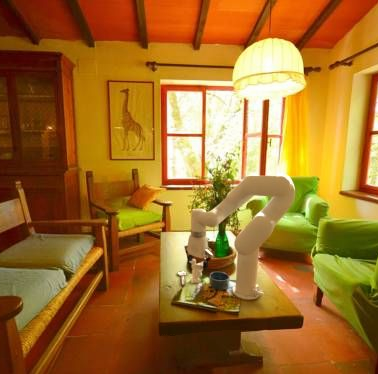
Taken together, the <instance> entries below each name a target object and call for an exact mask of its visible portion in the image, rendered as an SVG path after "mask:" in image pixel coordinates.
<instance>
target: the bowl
mask: <svg viewBox="0 0 378 374" xmlns="http://www.w3.org/2000/svg"><path fill="white" fill-rule="evenodd" d="M208 277H209V278H208V284H209V286H210V285H211V286H210V287H211V288H212V289H214V290H216V291H225V290H227V289H228V288H229V287H230V277H231V276H230V275H229V274H228V273H226V272H224V271H212V272H210V273H209V275H208Z"/></svg>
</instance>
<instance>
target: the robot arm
mask: <svg viewBox="0 0 378 374" xmlns="http://www.w3.org/2000/svg"><path fill="white" fill-rule="evenodd" d="M255 196H258V197H271V198H270V199H269V201H268V202H267V203H266V204H265V205H264V207H262V209H261V210H259V212H258V213H256V214H255V215H254V217H253V218H252V219H251V220H250V221H249V223H248V224H247V225H246V226H245V227H244V228H243V229H242V230H240V231H239V232H238V234H237V236H235V239H234V243H233V244H234V249H235V251H236V252H237V256H236V257H237V259H236V272H235V273H236V274H235V275H236V276H235V285H233V286H232V290H231V292H232V294H233V295H234V296H235V297H236V298H239V299H241V300H246V301H253V300H257V299H258V298H259V297H261V298H264V297H265V291H264V290H263V289H260V288H259V284H257V281H258V268H259V256H260V247H261V246H262V245H263V244H264V243H265V242H266V241H267V240H268V239H269V238H270V236H271V235H273V232H274V229H275V227H276V225H277V224H278V222H279V221H280V220H281V219H282V218H283V217H284V216H285V214H286V213H287V212H288V211H289V210H290V208H291V207H292V206H293V203H294V201H295V199H296V198H295V197H296V188H295V184H294V181H293V180H292V178H291V177H290V176H289V175H287V174H286V173H278V174H276V175H259V174H258V173H250V174H248V175H245V176H244V177H243V179H241V181H240V182H239V183H238V184H237V185H236V186H235V187H234V188H232V189H231V190H230V191H229V192H228V193H227V194H226V197H225V198H224V199H223V200H221V202H219V204H217V205H216V206H215V207H214V208H213V209H211V210H209V211H207V210H206V209H204V208H194V209H191V214H190V216H191V217H190V229H189V232H190V234H189V237H188V240H187V245H184V246H183V247H184V248H183V249H184V251H185V253H186V257H187V264H188V265H190V264H191V263H190V262H189V261H192V259H194V257H195V258H199V259H202V260H203V261H202V262H203V270H202V271H204V270H206V269H208V267H209V261H210V260H212V258H213V256H214V254H213V253H212V252H211V251H210V250H209V243H208V237H207V227H208V228H216V227H217V226H218V225H220V224H221V223H222V222H223V221H224V220H225V219H226V218H227V217H229V216H230V215H231V214H233V213H234V212H235V211H236V210H238V209H240V208H241V207H243V206H244V205H245V204H246V203H247V202H249V200H251V199H252V198H253V197H255Z"/></svg>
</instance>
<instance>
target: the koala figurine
mask: <svg viewBox="0 0 378 374" xmlns="http://www.w3.org/2000/svg"><path fill="white" fill-rule="evenodd" d="M189 262H190V264H191V269H192V270H191V281H190V283H191V284H195V283H197V284H199V283H200V282H201V281H202V279H201V277H202V276H203V273H202V272H203V271H204V270H203V262H204V261H201V262H198V263H197V259H196V258H193V259H192V261H189Z"/></svg>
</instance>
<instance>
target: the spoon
mask: <svg viewBox="0 0 378 374" xmlns="http://www.w3.org/2000/svg"><path fill="white" fill-rule="evenodd" d="M177 276H179V277H181V278H180V279H181V286H185V285H186V283H185V277H186V276H187V272H186V271H183V270H180V271H178V272H177Z"/></svg>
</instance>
